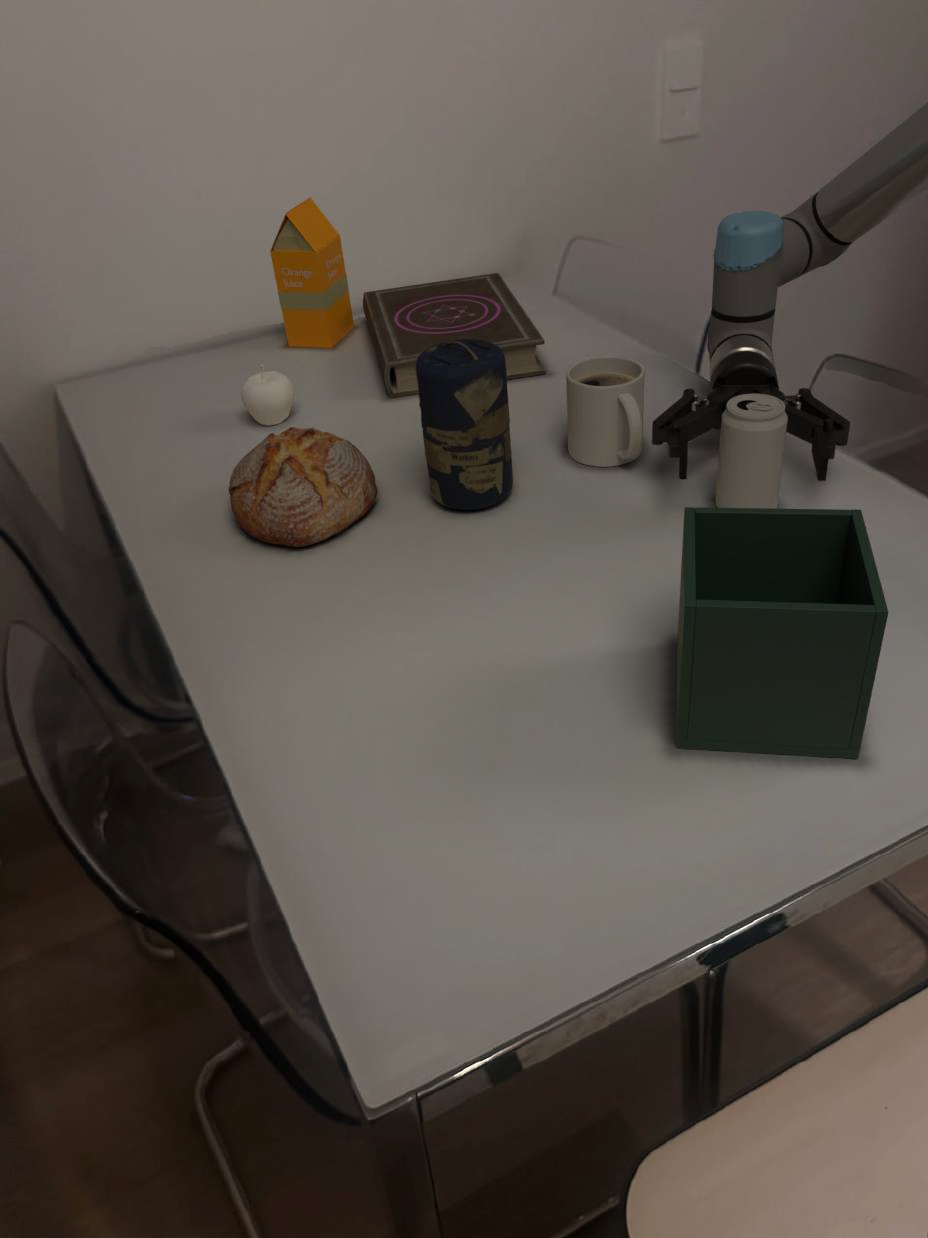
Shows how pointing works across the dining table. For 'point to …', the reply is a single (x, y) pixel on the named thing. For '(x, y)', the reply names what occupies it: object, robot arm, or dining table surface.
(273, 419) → the plain white apple
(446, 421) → the canister
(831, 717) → the waste bin
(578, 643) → the dining table surface
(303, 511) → the bread
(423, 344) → the book
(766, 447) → the beverage can
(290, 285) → the orange juice
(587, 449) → the mug
